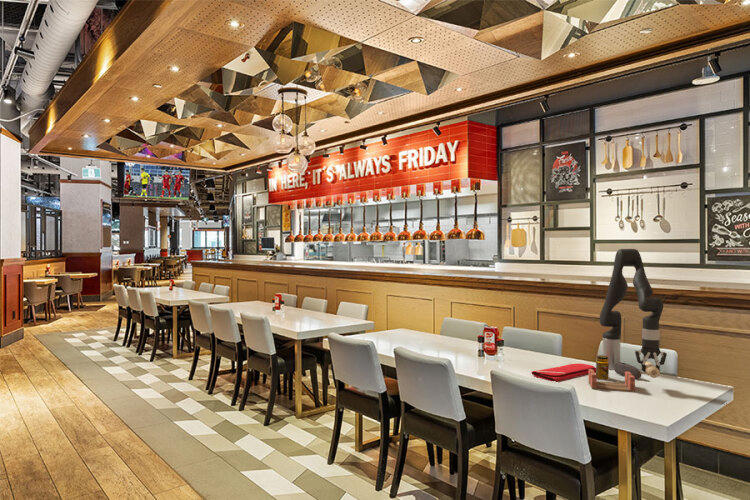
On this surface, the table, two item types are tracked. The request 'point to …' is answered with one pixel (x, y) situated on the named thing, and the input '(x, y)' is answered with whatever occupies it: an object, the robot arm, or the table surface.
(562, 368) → the dish drying mat
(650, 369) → the tan rounded cylinder
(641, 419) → the table surface
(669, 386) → the table surface
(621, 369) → the perforated stone tool
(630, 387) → the end holder
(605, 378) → the condiment
